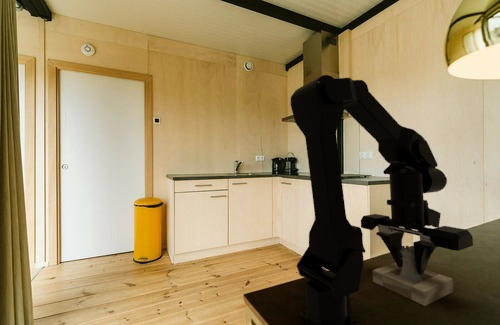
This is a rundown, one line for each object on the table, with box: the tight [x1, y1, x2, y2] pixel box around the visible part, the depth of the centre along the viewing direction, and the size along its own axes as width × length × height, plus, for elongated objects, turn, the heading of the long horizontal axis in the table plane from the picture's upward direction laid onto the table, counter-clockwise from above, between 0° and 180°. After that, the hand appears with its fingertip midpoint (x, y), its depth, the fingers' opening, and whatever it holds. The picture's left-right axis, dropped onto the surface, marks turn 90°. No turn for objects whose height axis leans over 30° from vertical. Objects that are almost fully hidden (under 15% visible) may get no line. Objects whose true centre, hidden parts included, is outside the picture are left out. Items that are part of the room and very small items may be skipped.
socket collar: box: [372, 262, 454, 307], centre depth 47 cm, size 10×10×2 cm
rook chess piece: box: [399, 245, 423, 283], centre depth 47 cm, size 4×4×8 cm
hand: (410, 270), depth 47 cm, fingers open, 4 cm apart
